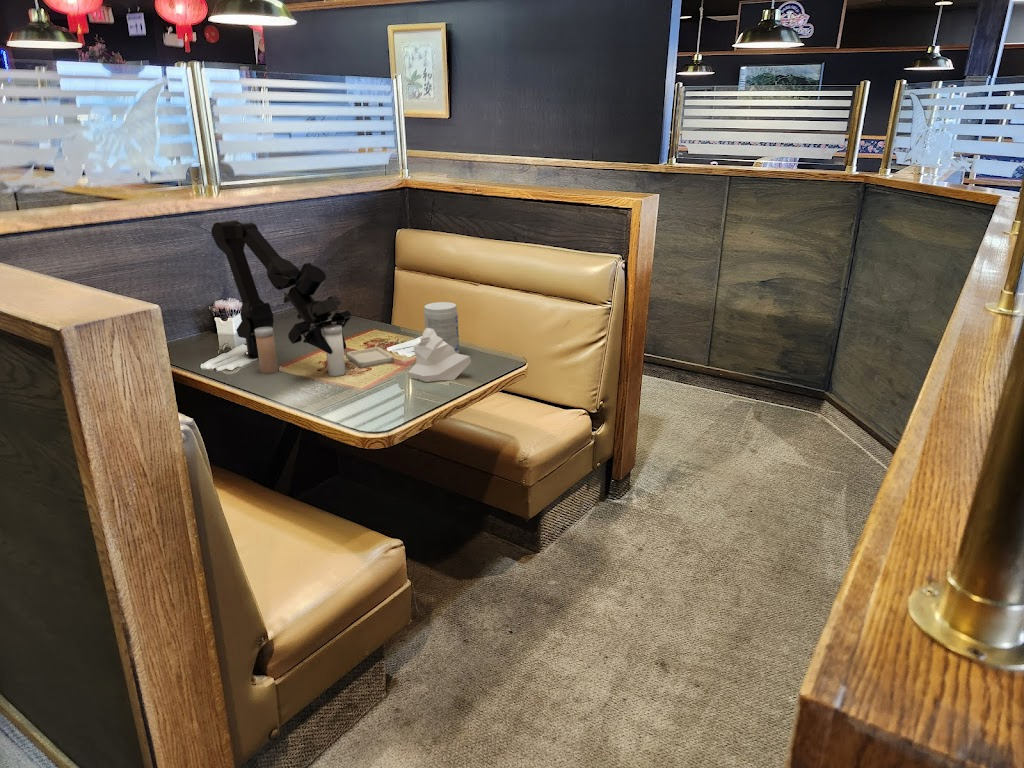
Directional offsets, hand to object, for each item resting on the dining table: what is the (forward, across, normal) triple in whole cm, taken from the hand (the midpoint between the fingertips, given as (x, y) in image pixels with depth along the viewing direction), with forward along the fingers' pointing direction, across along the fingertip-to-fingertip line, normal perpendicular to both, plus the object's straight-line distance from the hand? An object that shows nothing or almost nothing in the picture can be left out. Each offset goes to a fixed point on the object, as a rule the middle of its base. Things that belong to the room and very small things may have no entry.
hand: (338, 350), depth 193 cm
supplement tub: (+14, +29, -4) cm, 32 cm away
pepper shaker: (-9, -8, +19) cm, 22 cm away
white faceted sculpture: (+21, +13, -11) cm, 27 cm away
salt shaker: (+4, 0, +6) cm, 7 cm away
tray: (+3, +14, +7) cm, 16 cm away
